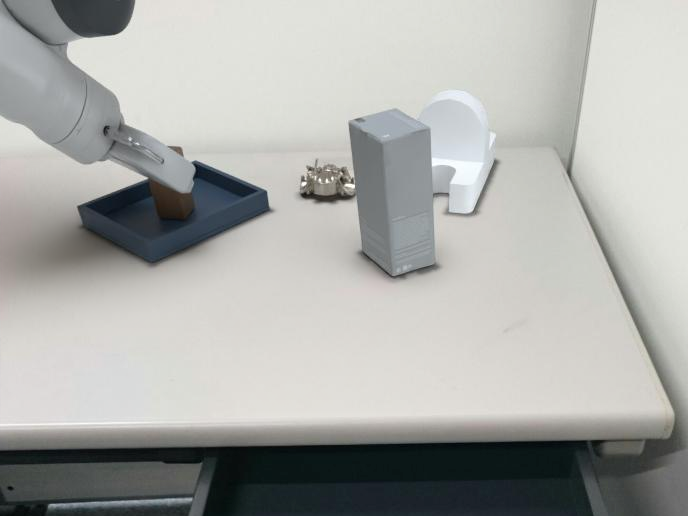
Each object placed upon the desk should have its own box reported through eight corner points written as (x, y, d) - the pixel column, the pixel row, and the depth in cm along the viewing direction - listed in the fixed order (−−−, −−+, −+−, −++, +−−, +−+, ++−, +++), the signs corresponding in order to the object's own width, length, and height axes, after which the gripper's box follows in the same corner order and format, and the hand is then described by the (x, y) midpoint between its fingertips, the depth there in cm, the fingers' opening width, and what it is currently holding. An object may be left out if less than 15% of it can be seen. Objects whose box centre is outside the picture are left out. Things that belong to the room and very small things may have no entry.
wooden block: (168, 205, 100) (153, 143, 94) (196, 207, 99) (182, 145, 93) (157, 218, 97) (140, 155, 91) (185, 221, 97) (170, 157, 91)
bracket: (430, 153, 113) (432, 68, 104) (495, 159, 111) (502, 74, 102) (399, 206, 101) (398, 116, 92) (471, 214, 99) (477, 123, 90)
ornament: (359, 182, 106) (358, 156, 103) (352, 203, 101) (350, 176, 99) (305, 180, 106) (302, 154, 104) (296, 201, 102) (293, 174, 99)
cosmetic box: (436, 265, 90) (440, 127, 78) (385, 280, 88) (382, 140, 76) (402, 237, 95) (401, 103, 83) (354, 251, 92) (345, 114, 80)
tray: (83, 225, 98) (76, 205, 96) (199, 178, 107) (195, 159, 105) (152, 263, 91) (146, 243, 89) (269, 209, 100) (267, 190, 98)
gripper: (147, 114, 78) (234, 178, 90) (46, 74, 87) (138, 137, 99) (124, 170, 79) (213, 226, 92) (27, 125, 88) (120, 181, 101)
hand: (173, 179), depth 96 cm, fingers closed on wooden block, 5 cm apart
